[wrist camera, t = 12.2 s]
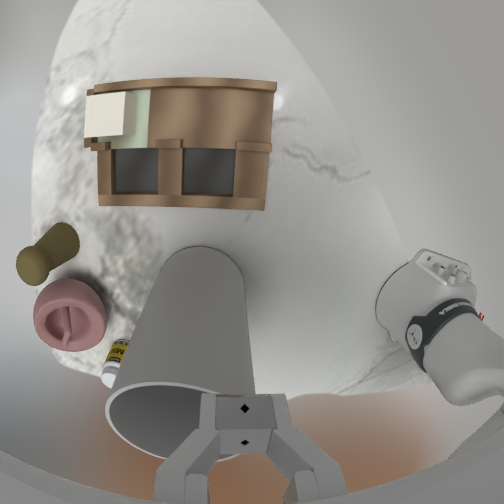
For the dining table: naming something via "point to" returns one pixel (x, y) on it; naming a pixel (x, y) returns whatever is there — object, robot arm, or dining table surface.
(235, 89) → the box
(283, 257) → the dining table surface
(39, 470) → the robot arm
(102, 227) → the dining table surface
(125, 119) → the block
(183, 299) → the cylinder vase
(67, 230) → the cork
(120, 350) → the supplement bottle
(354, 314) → the dining table surface
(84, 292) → the mortar and pestle
